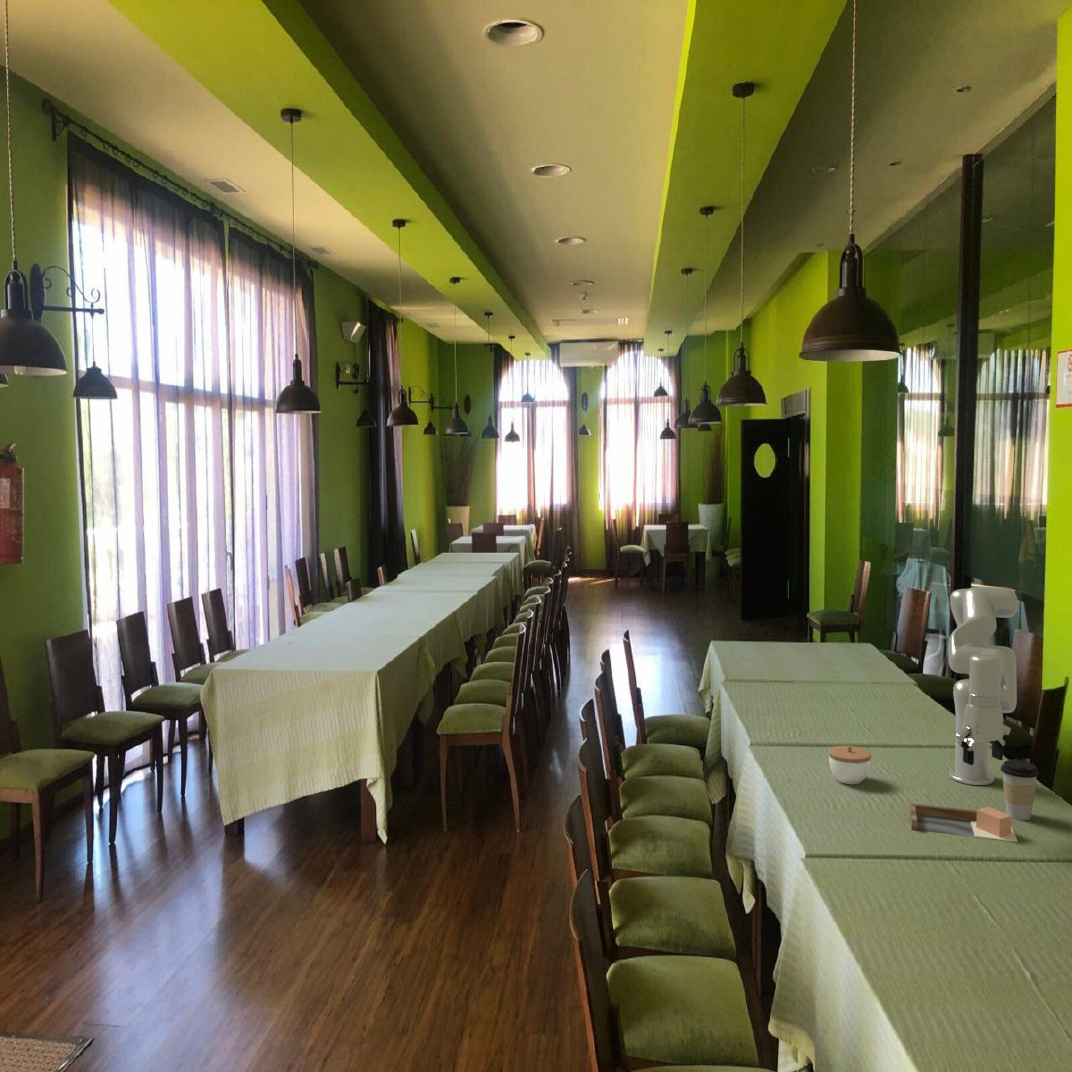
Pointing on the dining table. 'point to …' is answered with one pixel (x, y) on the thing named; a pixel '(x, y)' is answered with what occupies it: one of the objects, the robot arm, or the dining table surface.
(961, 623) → the robot arm
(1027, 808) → the coffee cup
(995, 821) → the block
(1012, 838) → the pad
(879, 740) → the dining table surface
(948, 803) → the dining table surface
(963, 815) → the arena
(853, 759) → the lidded bowl
